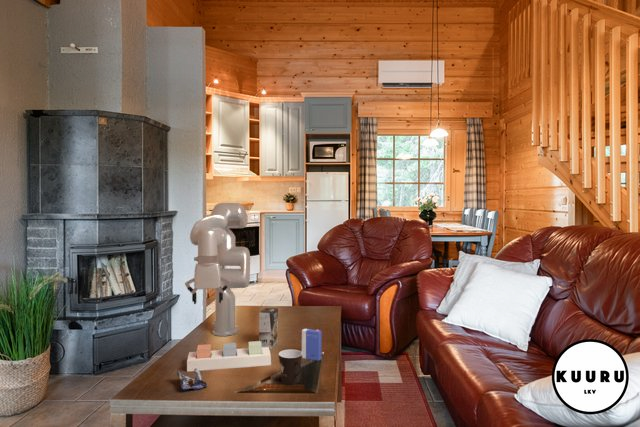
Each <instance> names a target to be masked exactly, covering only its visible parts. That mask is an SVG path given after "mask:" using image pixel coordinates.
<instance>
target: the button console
mask: <svg viewBox="0 0 640 427" xmlns="http://www.w3.org/2000/svg"><path fill="white" fill-rule="evenodd" d="M271 354H272V353H271V349H269V347H262V354H255V355H249V354H248V347H246V348H236V356H226V357H223V349H217V350H211V358H198V359H197V351H189V352H188V356H187V360H186V371H187V372H195V371H194V369H198V370H199V372H200V371H201V372H202V371H212V370H225V369H237V368H238V369H239V368H240V369H241V368H251V367H262V366H263V367H265V366H272V355H271Z"/></svg>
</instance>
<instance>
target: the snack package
mask: <svg viewBox="0 0 640 427" xmlns="http://www.w3.org/2000/svg"><path fill="white" fill-rule="evenodd" d="M193 372H194V373H195V378H191V377H190V376H187V375H186V376H185V375H184V374H183V373H181V372H180V371H178V370H176V373H177V374H176V375H177V378H179V380H180V381H179V384H180V387H181V390H182V391H183V392H185V391H186V390H190V389H192V390H194V391H200V390H202V389H206V388H207V387H208V386H207V382H205V381H203V380H202V374H201V372H200V371H199V370H198V369H194V371H193ZM189 379H192V380H193V382H192V383H193V384H194V385H189V383H188V381H189V382H190V380H189ZM192 380H191V381H192ZM187 384H188V385H189V386H188V385H187ZM190 386H192V387H190Z"/></svg>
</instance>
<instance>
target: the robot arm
mask: <svg viewBox="0 0 640 427" xmlns="http://www.w3.org/2000/svg"><path fill="white" fill-rule="evenodd" d="M248 221H249V220H248V214H247V211H246V209H245V207H244V206H243V204H241V203H239V202H219V203H217V204H215V205H214V206H213V208H212V210H211V212H210V215H208V216H205V217H203V218H200V219H199V220H197V221H196V222H195V223H194V224H193V226H192V228H191V230H190V234H189V240H190V242H191V244H192V245H193V246H197V255H196V257H193V260H194V261H195V262H197V263H196V264H195V266H194V267H195V268H194V276H193V278H191V279H189V280H187V281H186V282H184V285H185V287H186V289H187V290H188V291H189V293H191V294H192V296H191V297H192V298H191V299H192V301H191V302H192V303H193V304H194V305H196V304H197V291H198V290H214V294H215V295H214V296H215V300H214V301H215V303H214V304H215V321H214V322H212V323H211V326H213V327H214V328H213V329H212V335H214V336H217V337H228V336H229V337H230V336H234V335H236V334H238V333H239V327H236V296H235V294H234V292H233V291H232V289H245V288H246V289H247V288H248V287H249V285H250V280H251V278H250V277H251V276H250V275H251V274H250V273H251V254H250V250H249V248H248V247H245V246H236V235H235V234H234V233H233V231H232V230H231V229H244V228H245V227H247V225H248V223H249V222H248ZM220 266H225V267H228V266H229V267H240V268H221V267H220ZM192 283H193V287H194V288H193V287H192V286H191V284H192Z"/></svg>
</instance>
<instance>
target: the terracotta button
mask: <svg viewBox="0 0 640 427" xmlns="http://www.w3.org/2000/svg"><path fill="white" fill-rule="evenodd" d="M211 348H212V344H211V343H210V344H198V345H197V348H196V352H197V359H198V358H211V351H212V349H211Z"/></svg>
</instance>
